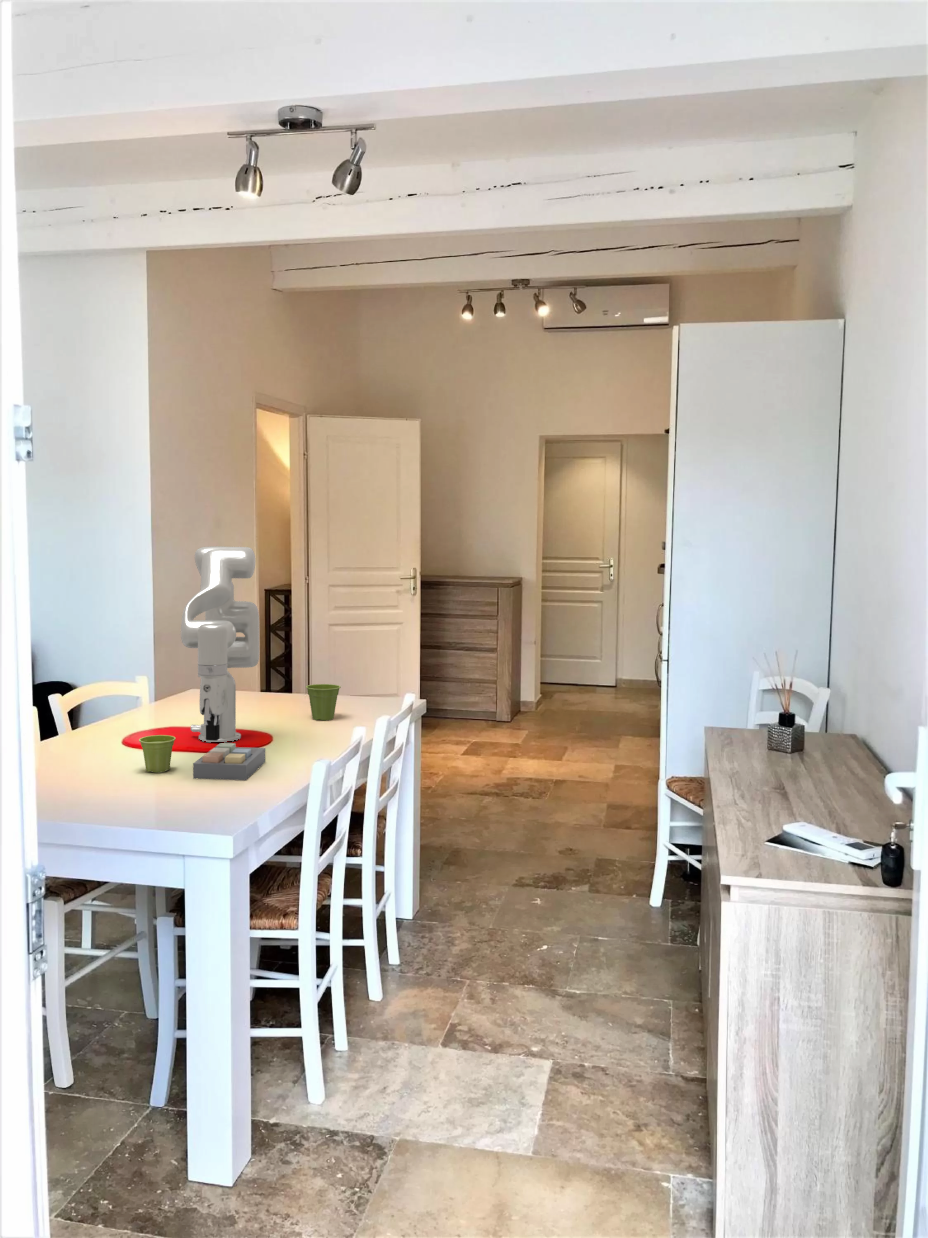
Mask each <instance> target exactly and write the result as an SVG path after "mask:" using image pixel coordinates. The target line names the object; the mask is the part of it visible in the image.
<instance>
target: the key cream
mask: <svg viewBox="0 0 928 1238" xmlns="http://www.w3.org/2000/svg"><path fill="white" fill-rule="evenodd" d="M209 751H210V753H223V757H224V758H225V757H226V756H227V755H228V754H229V748H215V747H213V748H211V749H210V750H209Z"/></svg>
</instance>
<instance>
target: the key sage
mask: <svg viewBox="0 0 928 1238" xmlns="http://www.w3.org/2000/svg"><path fill="white" fill-rule="evenodd" d="M215 747H216V748H229V752H232V751H233V750H235V749H236V747H237V746H236V742H234V743H233V742H224V743H219V744H217V745H215Z"/></svg>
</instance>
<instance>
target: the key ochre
mask: <svg viewBox="0 0 928 1238" xmlns="http://www.w3.org/2000/svg"><path fill="white" fill-rule="evenodd" d="M244 761H245V754H231V753H230V754H228V755H227V756H226V757H225V763H236V764H242V763H243V762H244Z"/></svg>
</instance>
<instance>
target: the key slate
mask: <svg viewBox="0 0 928 1238" xmlns="http://www.w3.org/2000/svg"><path fill="white" fill-rule="evenodd" d="M232 754H245V758H249V757H250V756H251V749H238V748H236V749H235V750H233V751H232Z"/></svg>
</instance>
